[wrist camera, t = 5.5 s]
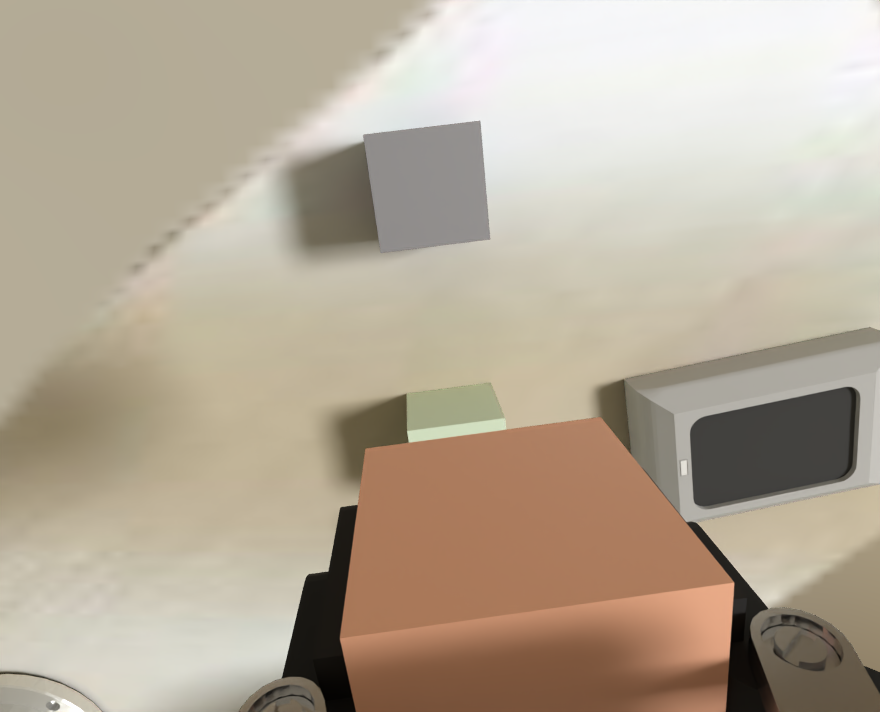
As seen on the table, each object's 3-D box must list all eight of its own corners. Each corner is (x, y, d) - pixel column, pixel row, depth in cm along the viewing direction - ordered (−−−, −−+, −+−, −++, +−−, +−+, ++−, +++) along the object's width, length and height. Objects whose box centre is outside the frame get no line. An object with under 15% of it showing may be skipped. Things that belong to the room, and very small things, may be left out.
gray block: (476, 227, 30) (490, 239, 25) (384, 239, 30) (380, 252, 25) (467, 128, 28) (480, 120, 24) (369, 140, 28) (363, 134, 23)
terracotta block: (605, 605, 13) (716, 844, 9) (398, 634, 13) (396, 893, 8) (600, 417, 12) (734, 582, 7) (365, 448, 12) (340, 637, 7)
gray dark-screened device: (904, 492, 33) (658, 543, 33) (857, 461, 37) (634, 508, 37) (918, 343, 30) (646, 400, 30) (865, 325, 34) (621, 376, 34)
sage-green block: (497, 456, 34) (512, 502, 30) (417, 467, 34) (419, 514, 30) (490, 382, 33) (505, 418, 28) (406, 392, 33) (407, 431, 28)
